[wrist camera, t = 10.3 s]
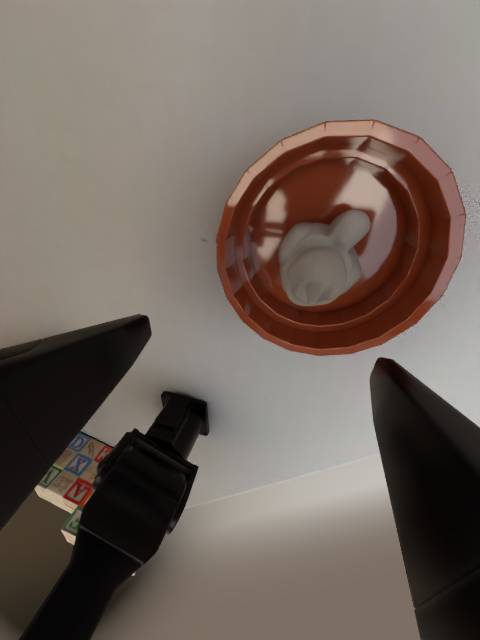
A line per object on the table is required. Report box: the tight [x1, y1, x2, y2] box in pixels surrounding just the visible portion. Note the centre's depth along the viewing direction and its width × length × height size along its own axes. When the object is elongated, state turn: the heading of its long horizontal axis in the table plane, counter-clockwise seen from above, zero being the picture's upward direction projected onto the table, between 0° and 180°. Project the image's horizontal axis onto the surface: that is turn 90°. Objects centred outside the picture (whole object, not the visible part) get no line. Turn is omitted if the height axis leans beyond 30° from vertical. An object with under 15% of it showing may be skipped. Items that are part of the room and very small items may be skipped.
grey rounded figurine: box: [278, 209, 371, 306], centre depth 14 cm, size 5×7×8 cm
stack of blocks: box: [35, 432, 136, 575], centre depth 41 cm, size 21×6×12 cm, turn 74°
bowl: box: [216, 119, 466, 356], centre depth 15 cm, size 13×13×5 cm
